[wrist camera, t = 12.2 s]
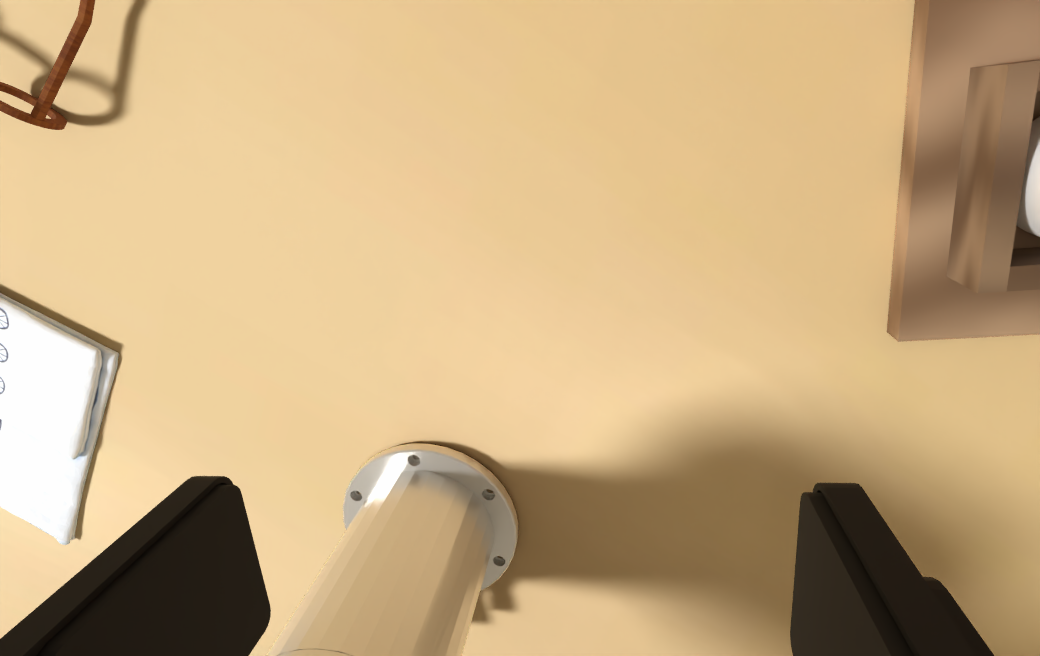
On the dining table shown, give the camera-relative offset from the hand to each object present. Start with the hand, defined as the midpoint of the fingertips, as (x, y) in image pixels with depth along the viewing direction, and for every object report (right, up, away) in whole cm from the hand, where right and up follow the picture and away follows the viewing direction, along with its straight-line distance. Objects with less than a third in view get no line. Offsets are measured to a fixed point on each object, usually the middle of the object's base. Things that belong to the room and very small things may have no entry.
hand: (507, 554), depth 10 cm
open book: (-41, -1, +37) cm, 55 cm away
